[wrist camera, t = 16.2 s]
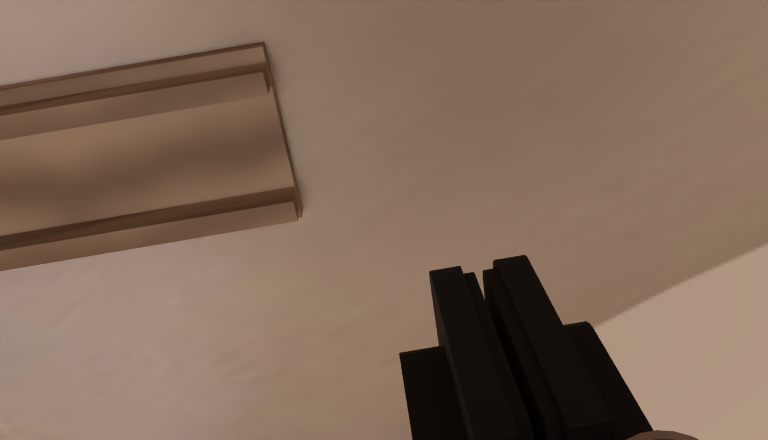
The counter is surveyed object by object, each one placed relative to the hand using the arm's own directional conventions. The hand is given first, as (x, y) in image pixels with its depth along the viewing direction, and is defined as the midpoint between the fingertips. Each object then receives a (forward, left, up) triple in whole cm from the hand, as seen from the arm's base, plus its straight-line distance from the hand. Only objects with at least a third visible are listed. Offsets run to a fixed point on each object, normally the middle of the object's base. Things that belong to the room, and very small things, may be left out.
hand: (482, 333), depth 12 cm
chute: (+5, -20, -27) cm, 34 cm away
